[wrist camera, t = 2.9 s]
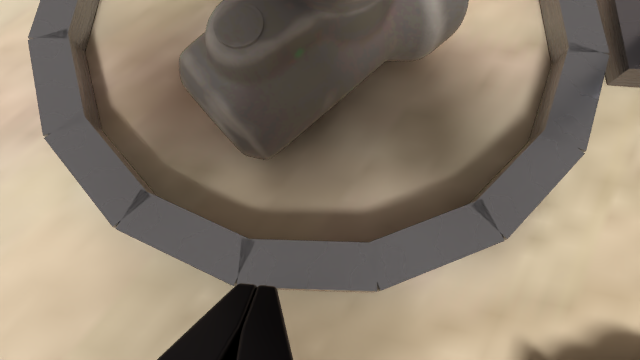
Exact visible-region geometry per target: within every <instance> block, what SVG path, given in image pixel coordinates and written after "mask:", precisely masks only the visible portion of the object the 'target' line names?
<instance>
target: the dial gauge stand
mask: <svg viewBox="0 0 640 360" xmlns="http://www.w3.org/2000/svg"><path fill="white" fill-rule="evenodd" d="M596 2H597V6H598V10H599V14H600V18H601V22H602V26H603V30H604V33H605V37H606V41H607V45H608V49H609V53H608V55H609V59H608V63H607V67H606V71H605V74H606V80H607V85H614V86H628V87H640V0H596Z"/></svg>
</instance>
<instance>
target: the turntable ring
mask: <svg viewBox="0 0 640 360" xmlns="http://www.w3.org/2000/svg"><path fill="white" fill-rule="evenodd" d="M539 1H540V6H541V11H542V16H543V21H544V26H545V32H546V37H547V42H548V47H549V52H550V57H551V62H552V65H551V68H550V72H549V75H548V79H547V82H546V85H545V89H544V92H543V95H542V99H541V102H540V105H539V109H538V112H537V115H536V119H535V122H534V125H533V129H532V132H531V135H530V139H529V142H528V143H527V144H526V145H525V146H524V147H523V149H522V150H521V151H520V152H519V153H518V154H517V155H516V156H515V157H514V158H513V159H512V160H511V161H510V162H509V163H508V164H507V165H506V166H505V167H504V168H503V169H502V170H501V171H500V172H499V173H498V174H497V175H496V176H495V177H494V179H493V180H492V181H491V182H490V183H489V184H488V185H487V186H486V187H485V188H484V189H483V190H482V191H481V192H480V193H479V194H478V195H477V196H476V197H475V198H474V199H473V200H472V201H471V202H470V203H469V204H467V205H465V206H462V207H460V208H457V209H454V210H452V211H449V212H447V213H444V214H442V215H439V216H436V217H434V218H431V219H429V220H426V221H423V222H421V223H418V224H416V225H413V226H410V227H408V228H405V229H403V230H400V231H397V232H395V233H392V234H390V235H387V236H384V237H382V238H379V239H377V240H374V241H371V242H369V243H367V242H334V241H302V240H269V239H248V238H246V237H244V236H242V235H240V234H237V233H235V232H233V231H231V230H229V229H227V228H224V227H222V226H220V225H218V224H216V223H214V222H211V221H209V220H207V219H205V218H203V217H201V216H199V215H196V214H194V213H192V212H190V211H188V210H186V209H183V208H181V207H179V206H177V205H175V204H173V203H170V202H168V201H166V200H164V199H162V198H160V197H157V196H156V195H155V194H154V192H153V191H152V190H151V189H150V188H149V186H148V185H147V184H146V183H145V182H144V180H143V179H142V178H141V177H140V176H139V174H138V173H137V172H136V171H135V170H134V168H133V167H132V166H131V165H130V164H129V162H128V161H127V160H126V159H125V158H124V156H123V155H122V154H121V153H120V152H119V150H118V149H117V148H116V147H115V146H114V144H113V143H112V142H111V141H110V140H109V138H108V137H107V136H106V135H105V134H104V132H103V131H102V129H101V124H100V120H99V115H98V110H97V106H96V101H95V96H94V92H93V87H92V82H91V78H90V73H89V68H88V64H87V59H86V54H85V50H86V46H87V43H88V39H89V35H90V32H91V28H92V24H93V21H94V17H95V13H96V10H97V6H98V2H99V0H40V3H39V6H38V9H37V12H36V15H35V18H34V21H33V24H32V27H31V30H30V33H29V36H28V38H29V39H30V40H28V44H29V50H30V57H31V63H32V69H33V76H34V82H35V88H36V94H37V101H38V107H39V113H40V120H41V126H42V132H43V136H45V138H44V139H45V140H46V141H47V143H48V144H49V145H50V146H51V148H52V149H53V150H54V152H55V153H56V154H57V155H58V157H59V158H60V159H61V161H62V162H63V163H64V165H65V166H66V167H67V168H68V170H69V171H70V172H71V174H72V175H73V176H74V177H75V179H76V180H77V181H78V183H79V184H80V185H81V186H82V188H83V189H84V190H85V192H86V193H87V194H88V196H89V197H90V198H91V199H92V201H93V202H94V203H95V205H96V206H97V207H98V208H99V210H100V211H101V212H102V214H103V215H104V216H105V217H106V219H107V220H108V221H109V223H110V224H111V225H112V227H115V228H116V229H117V230H119V231H121V232H123V233H125V234H127V235H129V236H131V237H133V238H135V239H137V240H139V241H141V242H144V243H146V244H148V245H150V246H152V247H154V248H156V249H158V250H160V251H162V252H164V253H166V254H168V255H170V256H172V257H175V258H177V259H179V260H181V261H183V262H185V263H187V264H189V265H191V266H193V267H195V268H197V269H199V270H201V271H203V272H206V273H208V274H210V275H212V276H214V277H216V278H218V279H220V280H222V281H224V282H226V283H228V284H230V285H232V286H236V285H237V284H240V283H244V284H254V285H256V286H257V287H258V286H259V285H267V286H275V287H276V288H277V289H280V290H312V291H343V292H377V291H381V290H384V289H386V288H388V287H391V286H393V285H396V284H398V283H401V282H403V281H406V280H408V279H411V278H413V277H416V276H418V275H421V274H423V273H426V272H428V271H431V270H433V269H436V268H438V267H441V266H443V265H446V264H448V263H451V262H453V261H456V260H458V259H461V258H463V257H465V256H468V255H470V254H473V253H475V252H478V251H480V250H483V249H485V248H488V247H490V246H493V245H495V244H498V243H500V242H503V241H504V240H506V239H508V238H509V237H510V235H511V234H512V233H513V232H514V231H515V230H516V229H517V228H518V227H519V226H520V224H521V223H522V222H523V221H524V220H525V219H526V218H527V217H528V216H529V214H530V213H531V212H532V211H533V210H534V209H535V208H536V207H537V206H538V205H539V203H540V202H541V201H542V200H543V199H544V198H545V197H546V196H547V195H548V193H549V192H550V191H551V190H552V189H553V188H554V187H555V186H556V185H557V184H558V182H559V181H560V180H561V179H562V178H563V177H564V176H565V175H566V174H567V173H568V171H569V170H570V169H571V168H572V167H573V166H574V165H575V164H576V163H577V161H578V160H579V159H580V158H581V157H582V156H583V155H584V154H585V153H583V152H585V151H586V149H587V145H588V141H589V137H590V133H591V128H592V124H593V120H594V116H595V112H596V108H597V104H598V100H599V96H600V92H601V87H602V83H603V79H604V75H605V71H606V67H607V63H608V59H609V55H608V53H609V49H608V45H607V41H606V37H605V33H604V30H603V26H602V22H601V18H600V14H599V10H598V6H597V2H596V0H539Z"/></svg>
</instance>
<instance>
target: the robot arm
mask: <svg viewBox="0 0 640 360" xmlns="http://www.w3.org/2000/svg"><path fill="white" fill-rule="evenodd" d="M157 360H293V357H292V353H291V349H290V344H289V340H288V336H287V331H286V327H285V322H284V318H283V314H282V309H281V305H280V301H279V296H278V292H277V288H276V287H275V286H267V285H259V286H258V287H257V286H256V285H254V284H244V283H240V284H237V285H236V286H235V287H234V288H233V289H232V290H231V291H230V292H229V293H228V294H226V295H225V296H224V297H223V298H222V299H221V300H220V301H219V302H218V303H217V304H216V305H215V306H214V307H213V308H212V309H210V310H209V311H208V312H207V313H206V314H205V315H204V316H203V317H202V318H201V319H200V320H199V321H198V322H197V323H196V324H194V325H193V326H192V327H191V328H190V329H189V330H188V331H187V332H186V333H185V334H184V335H183V336H182V337H181V338H180V339H178V340H177V341H176V342H175V343H174V344H173V345H172V346H171V347H170V348H169V349H168V350H167V351H166V352H165V353H164V354H163V355H161V356H160V357H159V358H158V359H157Z"/></svg>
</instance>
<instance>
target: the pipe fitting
mask: <svg viewBox="0 0 640 360" xmlns="http://www.w3.org/2000/svg"><path fill="white" fill-rule="evenodd" d="M468 1H469V0H223V1H222V2H221V3H220V4H219V5H218V6H217V7H216V8H215V10H214V11H213V12H212V14H211V16H210V18H209V20H208V23H207V27H206V32H205V33H203V34H202V35H201V36H200V37H198V38H197V39H196V40H195V41H194V42H193V43H192V44H190V45H189V46H188V47H187V48H186V49H185V50H184V51H183V52H182V53H181V55H180V58H179V71H180V78H181V81H182V83H183V85H184V87H185V88H186V90H187V91H188V92H189V93H190V95H191V96H192V97H193V98H194V99H195V101H196V102H197V103H198V104H199V105H200V107H201V108H202V109H203V110H204V111H205V112H206V113H207V115H208V116H209V117H210V118H211V119H212V120H213V122H214V123H215V124H216V125H217V126H218V127H219V128H220V130H221V131H222V132H223V133H224V134H225V135H226V136H227V137H228V138H229V140H230V141H231V142H232V143H233V144H234V145H235V146H236V147H237V148H238V149H239V150H240V151H241V152H242V153H243V154H245V155H247V156H250V157H255V158H259V159H270V158H272V157H273V156H275V155H276V154H277V153H278V152H280V151H281V150H282V149H283V148H285V147H286V146H287V145H288V144H290V143H291V142H292V141H293V140H294V139H296V138H297V137H298V136H299V135H300V134H301V133H303V132H304V131H305V130H306V129H307V128H308V127H310V126H311V125H312V124H313V123H314V122H315V121H317V120H318V119H319V118H320V117H321V116H322V115H324V114H325V113H326V112H327V111H328V110H329V109H331V108H332V107H333V106H334V105H335V104H336V103H338V102H339V101H340V100H341V99H342V98H343V97H345V96H346V95H347V94H348V93H349V92H350V91H351V90H353V89H354V88H355V87H356V86H357V85H358V84H360V83H361V82H362V81H363V80H364V79H365V78H367V77H368V76H369V75H370V74H371V73H372V72H374V71H375V70H376V69H377V68H378V67H379V66H381V65H382V64H383V63H384V62H385V61H414V60H418V59H421V58H423V57H425V56H427V55H428V54H430V53H431V52H432V51H433V50H435V49H436V48H437V47H438V46H439V45H441V44H442V43H443V42H444V41H446V40H447V39H448V38H449V37H450V36H451V35H453V34H454V33H455V31H456V30H457V29H458V28H459V26H460V25H461V23H462V21H463V19H464V17H465V14H466V11H467V8H468Z"/></svg>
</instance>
